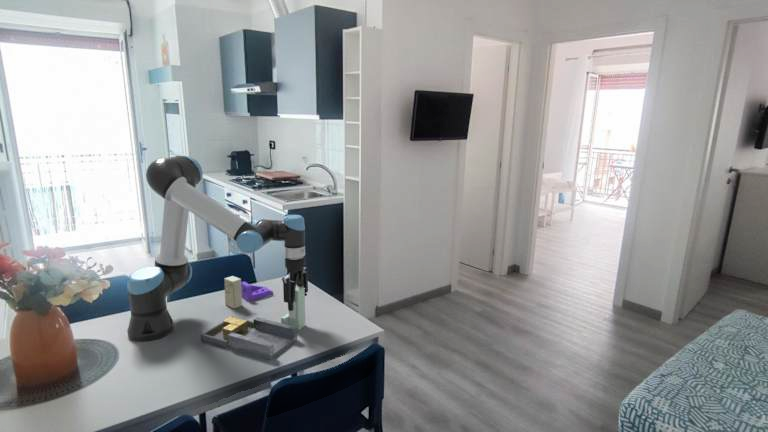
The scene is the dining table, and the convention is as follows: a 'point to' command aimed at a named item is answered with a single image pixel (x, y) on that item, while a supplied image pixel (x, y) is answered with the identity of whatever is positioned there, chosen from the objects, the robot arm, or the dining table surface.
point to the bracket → (254, 292)
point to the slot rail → (264, 339)
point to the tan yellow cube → (241, 325)
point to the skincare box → (233, 292)
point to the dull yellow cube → (229, 321)
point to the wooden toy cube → (230, 330)
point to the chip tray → (220, 334)
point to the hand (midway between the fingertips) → (296, 314)
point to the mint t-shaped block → (297, 310)
